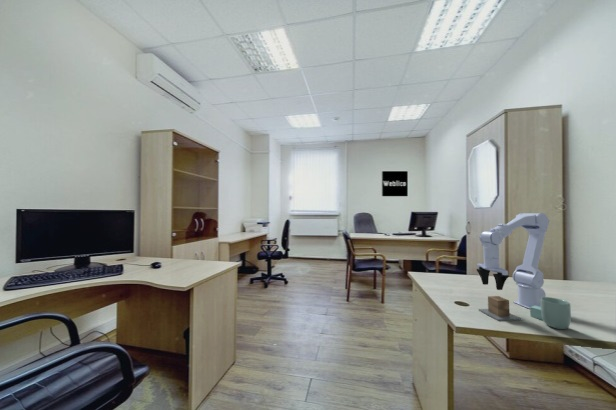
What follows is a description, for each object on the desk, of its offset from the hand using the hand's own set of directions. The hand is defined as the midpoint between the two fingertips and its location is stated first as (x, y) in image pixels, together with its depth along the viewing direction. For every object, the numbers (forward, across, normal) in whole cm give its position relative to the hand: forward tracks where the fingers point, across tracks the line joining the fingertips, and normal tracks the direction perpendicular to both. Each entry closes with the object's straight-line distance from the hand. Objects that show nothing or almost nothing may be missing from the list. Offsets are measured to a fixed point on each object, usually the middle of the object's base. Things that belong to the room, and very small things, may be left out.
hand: (492, 286), depth 107 cm
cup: (+10, +18, +9) cm, 23 cm away
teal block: (+10, +10, +12) cm, 18 cm away
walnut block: (+9, +7, -4) cm, 12 cm away
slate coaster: (+10, +7, -3) cm, 12 cm away
